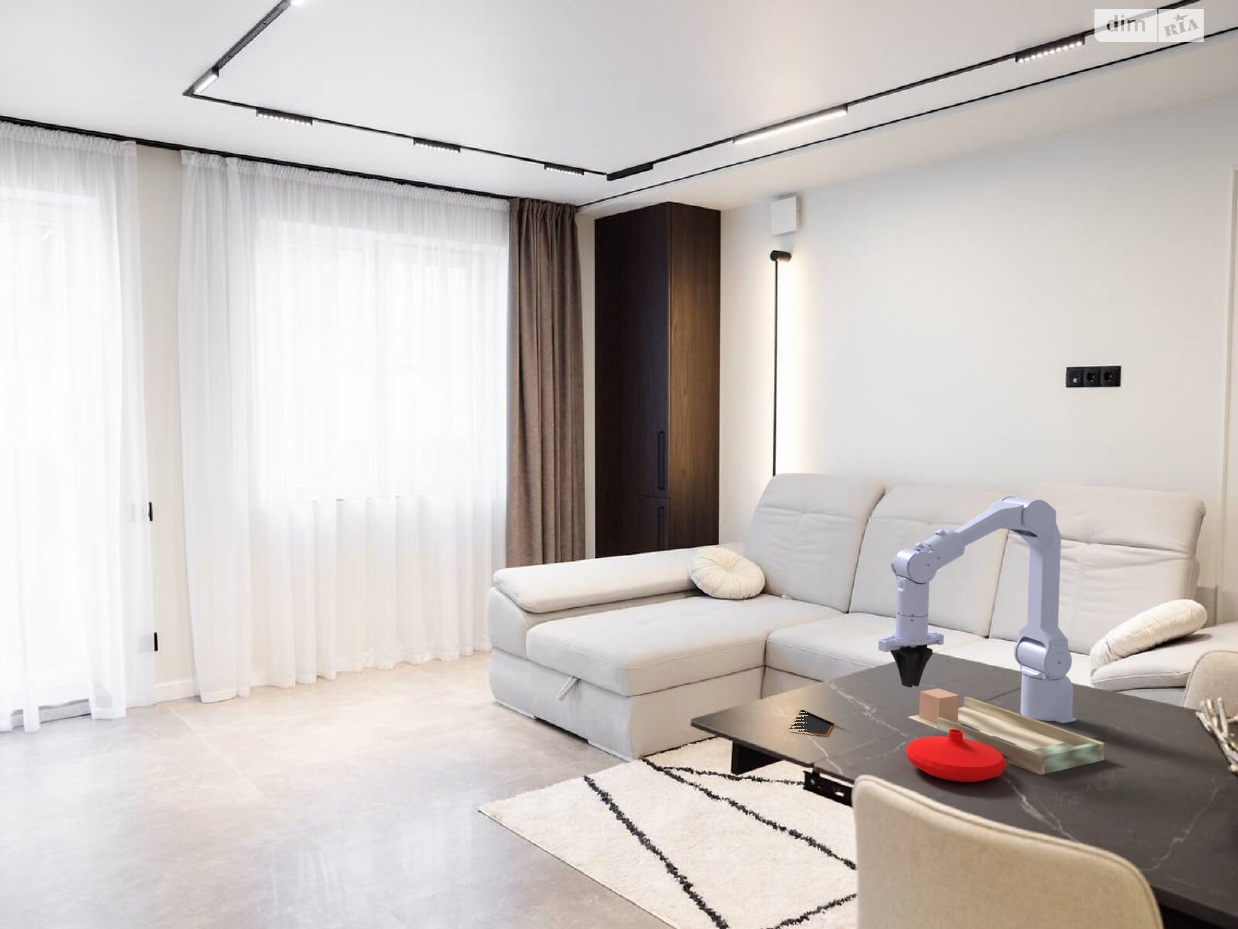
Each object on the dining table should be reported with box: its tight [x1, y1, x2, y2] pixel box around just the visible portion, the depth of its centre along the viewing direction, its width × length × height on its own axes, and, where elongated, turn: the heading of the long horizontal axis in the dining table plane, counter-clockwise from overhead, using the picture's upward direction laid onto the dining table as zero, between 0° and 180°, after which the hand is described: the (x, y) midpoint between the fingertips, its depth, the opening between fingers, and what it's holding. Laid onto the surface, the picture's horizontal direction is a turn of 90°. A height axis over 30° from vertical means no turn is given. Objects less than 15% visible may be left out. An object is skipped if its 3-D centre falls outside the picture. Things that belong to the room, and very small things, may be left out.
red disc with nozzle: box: [904, 729, 1007, 783], centre depth 155 cm, size 16×16×7 cm
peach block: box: [918, 687, 960, 724], centre depth 180 cm, size 5×5×5 cm
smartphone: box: [788, 709, 835, 738], centre depth 181 cm, size 8×17×1 cm, turn 158°
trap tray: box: [907, 696, 1105, 776], centre depth 172 cm, size 16×30×3 cm, turn 27°
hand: (910, 685), depth 177 cm, fingers closed
